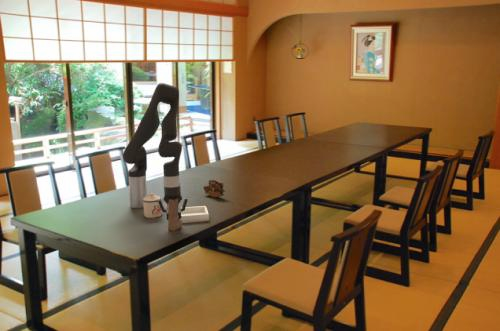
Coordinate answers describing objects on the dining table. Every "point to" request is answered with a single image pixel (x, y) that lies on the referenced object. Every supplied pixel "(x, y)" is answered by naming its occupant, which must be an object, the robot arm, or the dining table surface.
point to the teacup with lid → (151, 206)
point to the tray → (195, 214)
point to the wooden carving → (214, 188)
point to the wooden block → (173, 215)
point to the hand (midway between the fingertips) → (174, 219)
